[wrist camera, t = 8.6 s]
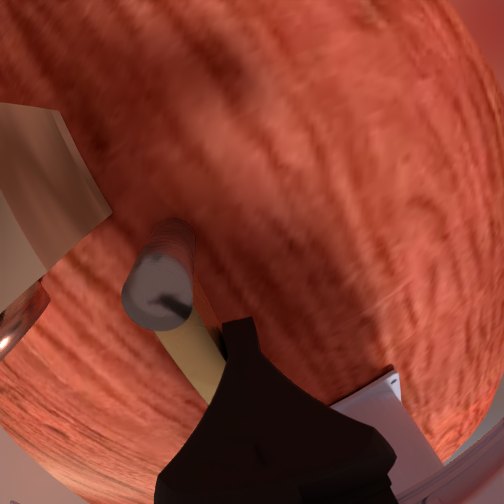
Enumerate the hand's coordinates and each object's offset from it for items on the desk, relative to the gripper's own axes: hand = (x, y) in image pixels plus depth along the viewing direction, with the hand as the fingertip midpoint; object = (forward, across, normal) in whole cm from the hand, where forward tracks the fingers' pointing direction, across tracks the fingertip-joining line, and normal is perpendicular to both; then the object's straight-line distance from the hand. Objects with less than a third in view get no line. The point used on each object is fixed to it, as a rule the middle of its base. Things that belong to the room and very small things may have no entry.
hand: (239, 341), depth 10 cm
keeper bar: (+2, +1, 0) cm, 3 cm away
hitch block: (+2, +10, -6) cm, 12 cm away
